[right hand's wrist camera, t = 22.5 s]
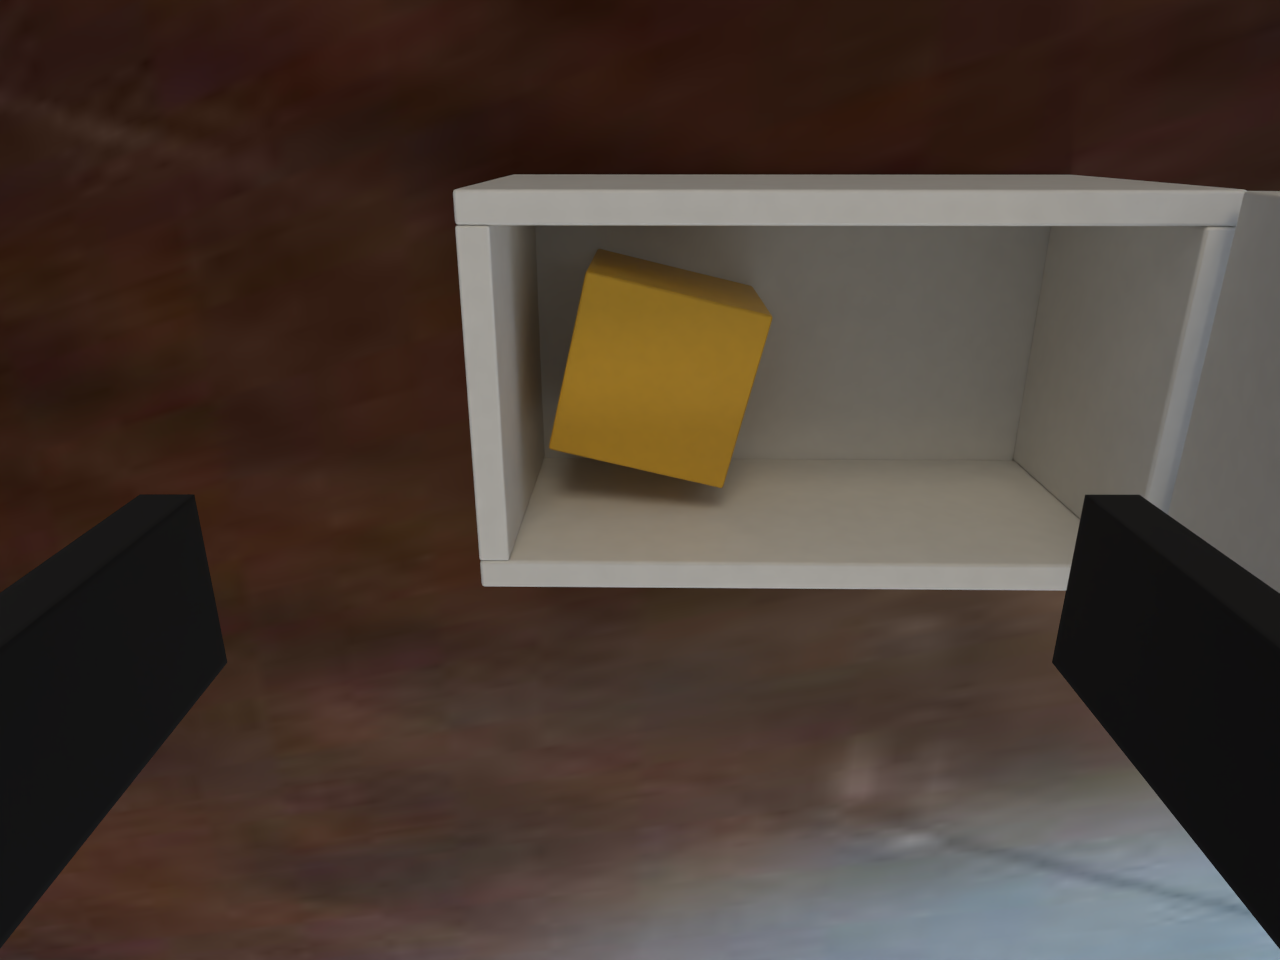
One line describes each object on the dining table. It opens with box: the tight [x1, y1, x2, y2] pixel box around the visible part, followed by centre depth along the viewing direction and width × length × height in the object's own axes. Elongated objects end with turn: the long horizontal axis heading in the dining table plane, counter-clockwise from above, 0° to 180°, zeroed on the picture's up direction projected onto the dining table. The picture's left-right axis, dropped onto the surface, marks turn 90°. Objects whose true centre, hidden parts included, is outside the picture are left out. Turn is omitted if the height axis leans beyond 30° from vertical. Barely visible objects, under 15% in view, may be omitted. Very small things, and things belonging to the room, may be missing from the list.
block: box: [549, 249, 772, 488], centre depth 26 cm, size 5×5×5 cm
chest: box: [453, 174, 1247, 590], centre depth 25 cm, size 17×10×9 cm, turn 90°
